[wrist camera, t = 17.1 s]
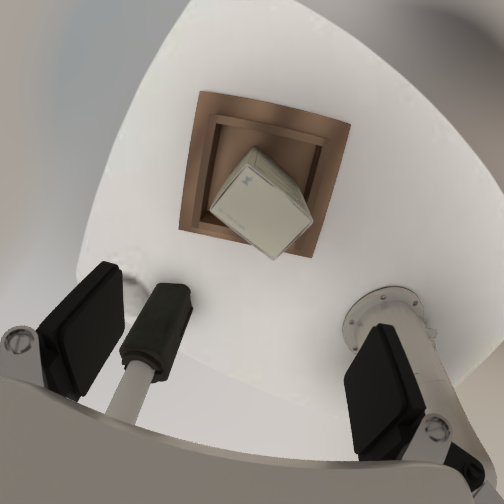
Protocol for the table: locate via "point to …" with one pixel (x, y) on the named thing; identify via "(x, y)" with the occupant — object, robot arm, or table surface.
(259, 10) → the table surface
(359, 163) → the table surface
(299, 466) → the robot arm
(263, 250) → the skincare box
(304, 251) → the tray
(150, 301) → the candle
